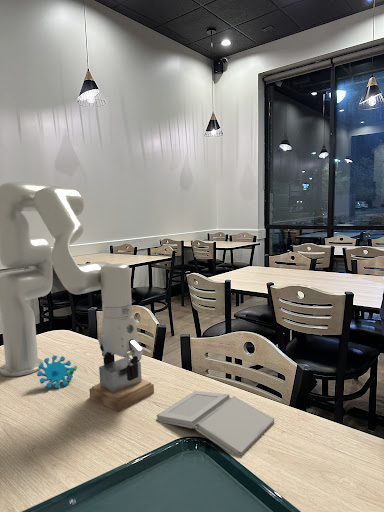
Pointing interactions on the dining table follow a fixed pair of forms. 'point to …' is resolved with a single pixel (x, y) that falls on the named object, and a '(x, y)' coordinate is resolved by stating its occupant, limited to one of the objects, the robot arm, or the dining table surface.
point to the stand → (122, 395)
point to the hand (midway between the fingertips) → (120, 374)
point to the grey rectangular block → (117, 376)
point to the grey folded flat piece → (219, 419)
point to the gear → (56, 372)
